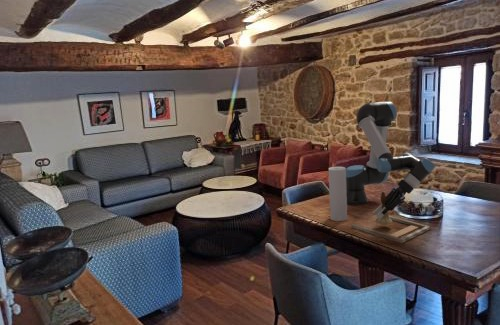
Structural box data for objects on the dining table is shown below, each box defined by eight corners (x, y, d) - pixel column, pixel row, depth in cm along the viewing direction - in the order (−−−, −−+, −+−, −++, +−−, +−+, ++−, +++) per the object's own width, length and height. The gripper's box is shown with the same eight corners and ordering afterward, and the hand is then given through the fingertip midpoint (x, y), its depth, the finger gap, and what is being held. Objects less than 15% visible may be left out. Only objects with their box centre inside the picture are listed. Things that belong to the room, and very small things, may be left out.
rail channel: (379, 215, 210) (379, 213, 210) (430, 229, 185) (430, 226, 185) (351, 226, 197) (351, 224, 196) (401, 243, 172) (401, 240, 172)
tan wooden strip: (411, 225, 192) (411, 224, 192) (419, 227, 188) (419, 226, 188) (387, 236, 180) (387, 236, 180) (394, 239, 177) (394, 238, 177)
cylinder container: (347, 220, 206) (346, 169, 200) (330, 221, 208) (328, 169, 202) (346, 215, 215) (345, 165, 209) (330, 215, 217) (328, 166, 211)
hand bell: (372, 220, 195) (371, 192, 192) (384, 217, 198) (383, 189, 195) (383, 225, 187) (382, 195, 184) (395, 222, 190) (395, 192, 187)
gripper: (420, 192, 179) (386, 226, 184) (407, 184, 197) (377, 215, 201) (409, 183, 179) (375, 217, 183) (397, 175, 196) (366, 206, 201)
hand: (376, 216), depth 192 cm, fingers closed on hand bell, 4 cm apart
